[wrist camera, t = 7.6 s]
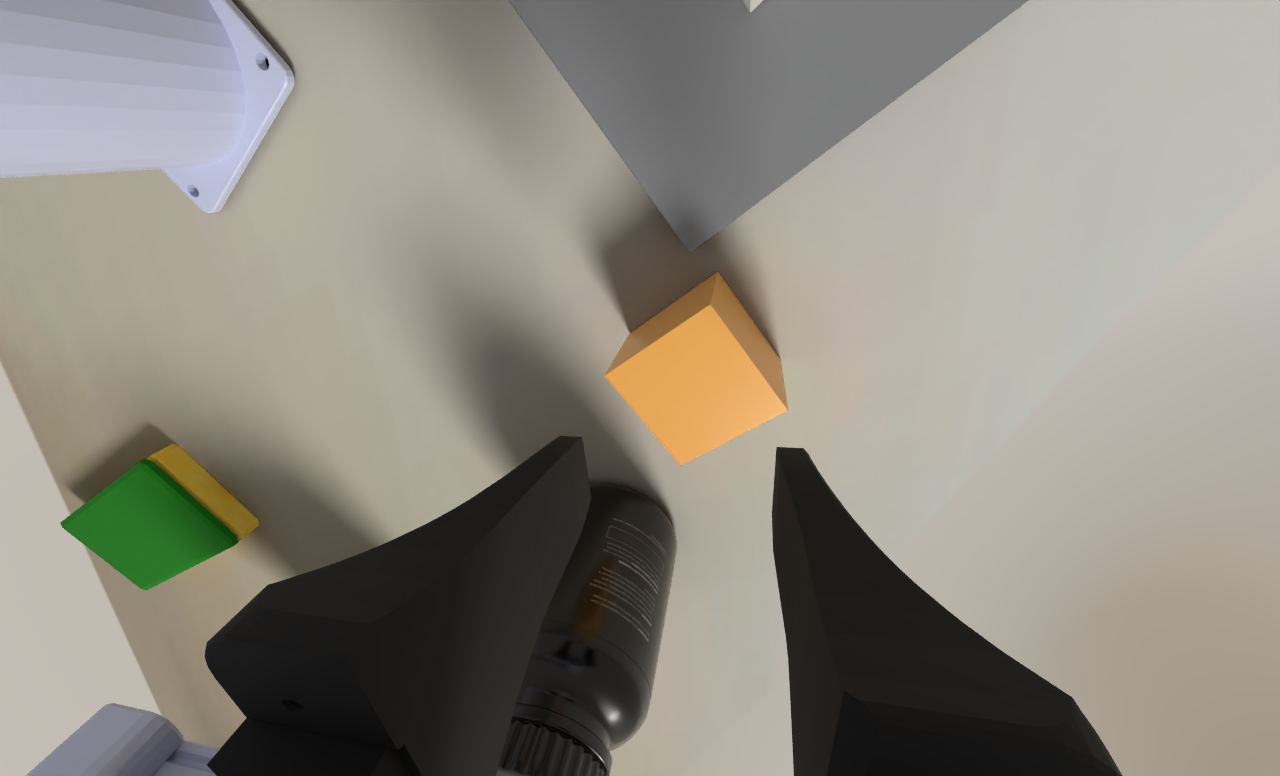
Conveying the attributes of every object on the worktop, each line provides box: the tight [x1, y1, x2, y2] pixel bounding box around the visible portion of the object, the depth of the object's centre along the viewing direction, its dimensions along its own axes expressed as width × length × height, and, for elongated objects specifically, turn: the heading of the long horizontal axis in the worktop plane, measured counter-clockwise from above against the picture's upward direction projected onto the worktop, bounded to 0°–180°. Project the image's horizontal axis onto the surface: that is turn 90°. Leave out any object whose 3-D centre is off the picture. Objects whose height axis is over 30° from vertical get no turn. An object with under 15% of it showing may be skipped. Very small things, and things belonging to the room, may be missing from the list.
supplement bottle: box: [496, 484, 677, 776], centre depth 20 cm, size 7×7×12 cm
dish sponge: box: [61, 444, 260, 590], centre depth 32 cm, size 7×14×2 cm, turn 121°
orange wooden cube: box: [605, 272, 788, 466], centre depth 18 cm, size 4×4×4 cm
